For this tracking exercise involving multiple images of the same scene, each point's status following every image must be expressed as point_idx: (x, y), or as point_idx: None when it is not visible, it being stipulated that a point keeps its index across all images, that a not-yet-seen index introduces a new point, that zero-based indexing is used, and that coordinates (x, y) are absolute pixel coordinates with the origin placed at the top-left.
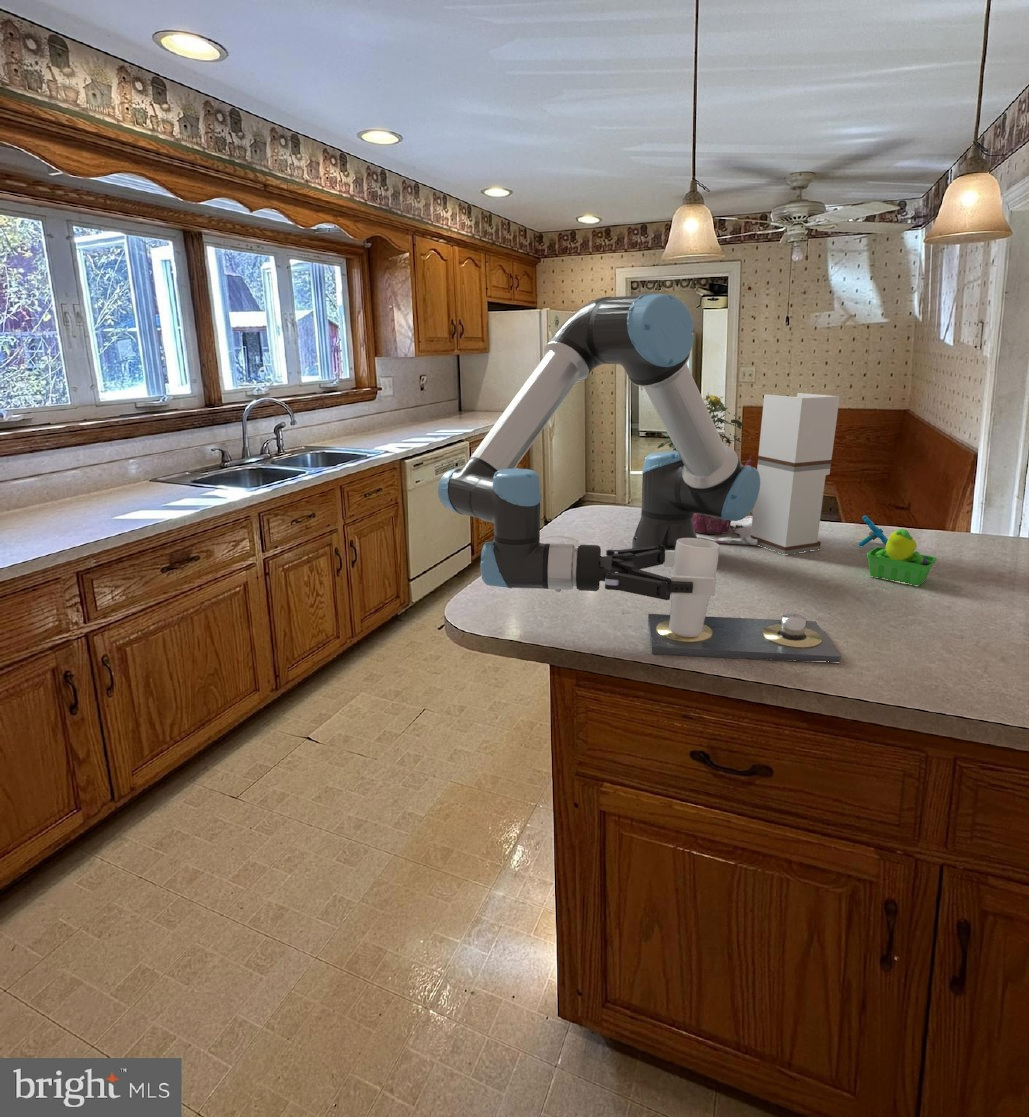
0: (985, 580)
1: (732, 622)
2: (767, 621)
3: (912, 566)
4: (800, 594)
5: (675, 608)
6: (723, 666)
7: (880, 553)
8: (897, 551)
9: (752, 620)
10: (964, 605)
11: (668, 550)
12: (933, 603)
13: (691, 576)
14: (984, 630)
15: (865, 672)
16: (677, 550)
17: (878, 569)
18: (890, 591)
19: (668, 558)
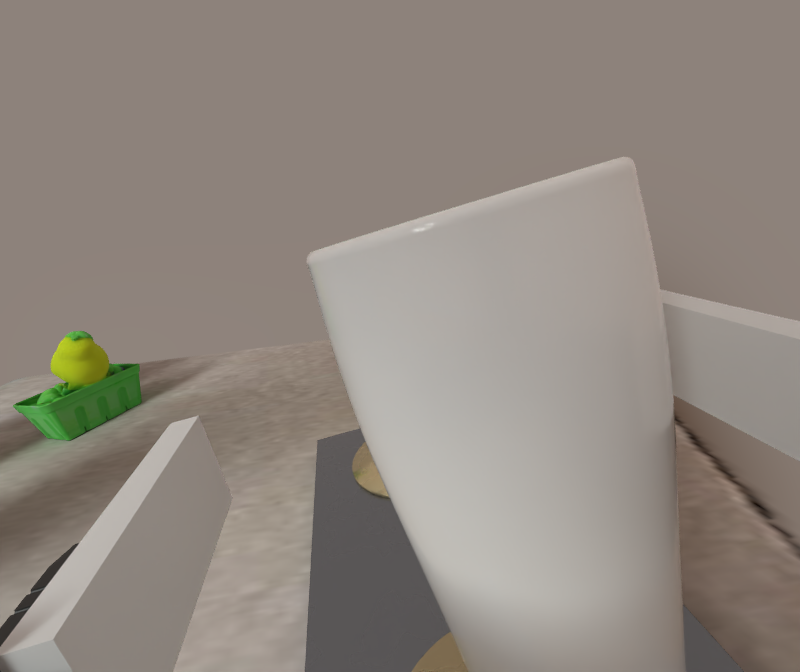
0: (143, 373)
1: (356, 576)
2: (331, 503)
3: (123, 376)
4: (109, 503)
5: (680, 663)
6: (708, 557)
7: (54, 395)
8: (95, 365)
9: (328, 532)
10: (224, 371)
11: (33, 616)
12: (211, 385)
13: (749, 324)
14: (307, 353)
15: None
16: (609, 254)
17: (76, 417)
18: (148, 416)
19: (115, 663)
